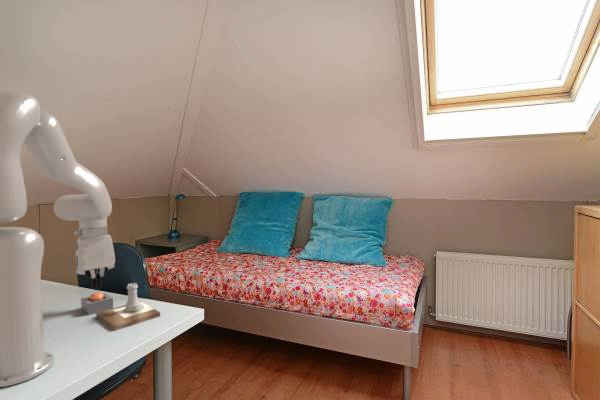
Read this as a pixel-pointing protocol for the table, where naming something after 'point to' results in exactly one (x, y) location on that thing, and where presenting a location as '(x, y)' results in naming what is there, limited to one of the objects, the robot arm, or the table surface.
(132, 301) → the rook chess piece
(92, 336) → the table surface
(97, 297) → the button
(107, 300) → the button base
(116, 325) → the board
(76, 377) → the table surface
